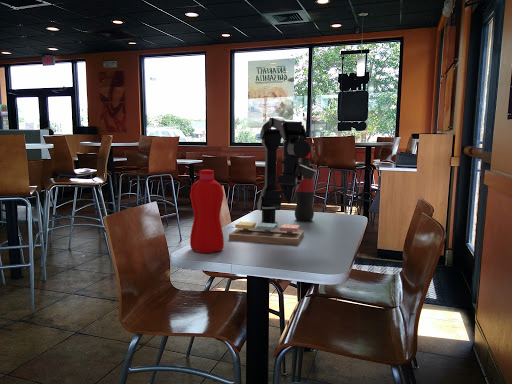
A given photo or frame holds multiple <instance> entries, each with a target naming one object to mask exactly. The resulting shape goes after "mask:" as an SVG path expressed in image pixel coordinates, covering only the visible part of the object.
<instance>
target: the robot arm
mask: <svg viewBox="0 0 512 384" xmlns="http://www.w3.org/2000/svg"><path fill="white" fill-rule="evenodd" d="M259 132H260V134H259V137H260V140H261V145H262V146H263V149H264V153H265V154H264V155H265V158H264V186H263V187H262V189H261V190H260V195H259V198H258V201H257V204H256V205H257V210H258V211H260V212H261V222H260V223H272V224H277V225H278V221H276V214H277V213H276V212H277V211H280V210H281V207H282V202H283V201H282V196H281V191H282V193H283V195H284V198H285V200H286V203H287V204H289V205H290V204H292V203H293V202H294V198H295V191H296V187H297V186H298V185H299V184H300V183H301V182H297V180H303V176H304V177H307V178H308V179H310V180H312V179H313V178H314V179H315V177H314V176H316V173H317V170H316V169H315V167H314V165H312V164H311V165H309V166H307V167H306V166H303V165H301V160H300V159H302V158H305V157H307V156H308V155H309V153H310V154H311V146H310V144H309V143H308V141H307V140H308V133H307V131H306V128H305V126H304V124H303V121H302V120H295V119H294V120H291V119H290V120H289V119H287V118H284V117H283V116H270V117H269V119H268V121H266V122H265V123H264V124H263V125H262V127H261V129H260V131H259ZM282 140H283V141H282ZM281 144H282V160H281V164H282V172H281V174H279V175H278V176H277V159H278V158H277V151H278V149H279V147H280V145H281ZM277 184H279V186H280V188H281V191H280V190H279V189H278V187H277Z"/></svg>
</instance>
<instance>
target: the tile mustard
mask: <svg viewBox="0 0 512 384" xmlns="http://www.w3.org/2000/svg"><path fill="white" fill-rule="evenodd" d="M234 226H235V227H234V228H235V229H238V228H243V232H248V229H252V228H254V227H257V222H254V221H239V222H237V223H236V224H235V225H234Z"/></svg>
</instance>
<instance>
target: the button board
mask: <svg viewBox="0 0 512 384" xmlns="http://www.w3.org/2000/svg"><path fill="white" fill-rule="evenodd" d="M304 234H305V230H300V229H299V230H298V231H297V232H293V235H287V231H280V228H276V229H275V230H270V233H265V230H259V229H257V226H255V227H254V228H252V229H248V232H243V228H235V230H233V231H232V232H231V233H229V234H228V240H229V241H238V242H239V241H240V242H251V243H252V242H253V243H263V244H264V243H268V244H280V245H293V246H298V245H299V244H300V243H301V241H302V239H304V236H305V235H304Z"/></svg>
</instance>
